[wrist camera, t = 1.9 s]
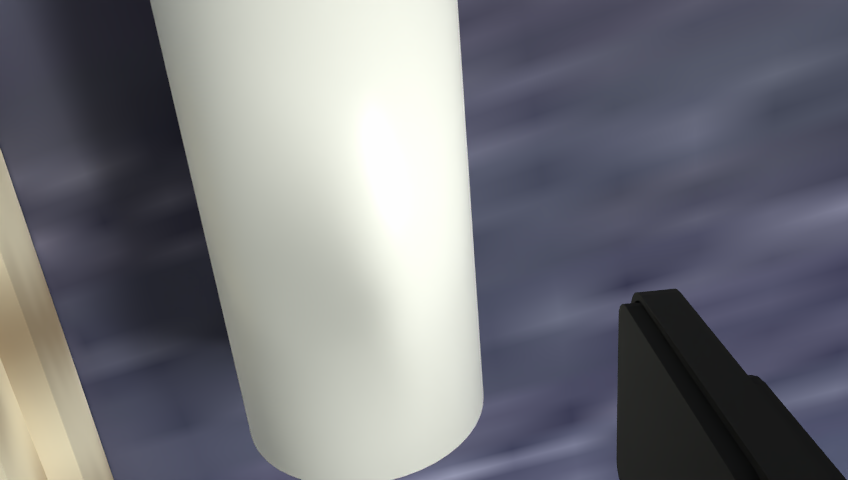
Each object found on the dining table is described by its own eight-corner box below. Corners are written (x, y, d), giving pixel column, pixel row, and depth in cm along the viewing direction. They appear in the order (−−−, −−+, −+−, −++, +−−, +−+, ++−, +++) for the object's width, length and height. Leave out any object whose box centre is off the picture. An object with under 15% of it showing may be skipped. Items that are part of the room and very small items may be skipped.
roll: (167, -102, 17) (77, -107, 11) (431, -128, 17) (471, -144, 11) (264, 356, 22) (235, 506, 16) (465, 332, 22) (503, 471, 16)
